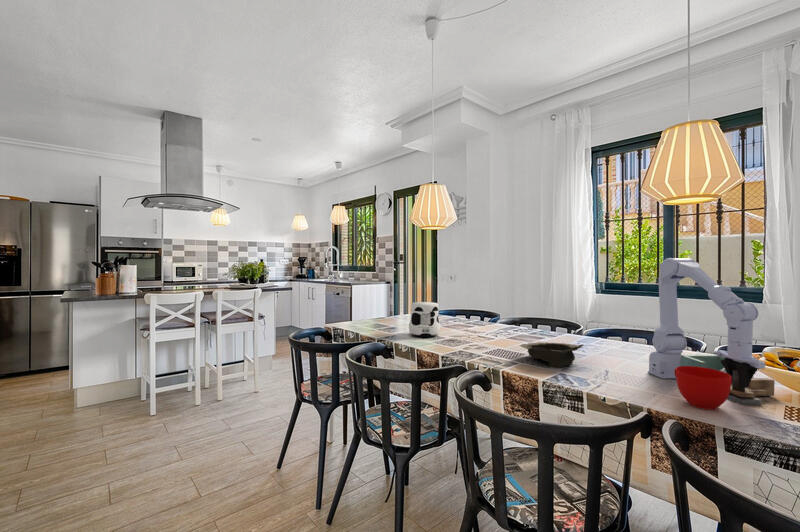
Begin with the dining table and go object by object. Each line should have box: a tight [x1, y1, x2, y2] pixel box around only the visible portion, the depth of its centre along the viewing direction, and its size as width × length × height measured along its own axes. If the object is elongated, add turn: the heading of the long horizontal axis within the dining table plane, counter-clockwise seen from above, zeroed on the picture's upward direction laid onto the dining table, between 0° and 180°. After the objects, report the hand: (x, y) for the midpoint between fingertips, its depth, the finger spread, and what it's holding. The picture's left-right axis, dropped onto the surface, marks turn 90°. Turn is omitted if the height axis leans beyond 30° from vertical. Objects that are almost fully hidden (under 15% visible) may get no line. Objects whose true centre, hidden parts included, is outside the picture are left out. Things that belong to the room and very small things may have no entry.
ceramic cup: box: [675, 366, 732, 411], centre depth 115 cm, size 13×17×10 cm
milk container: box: [408, 301, 441, 338], centre depth 213 cm, size 17×17×18 cm
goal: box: [681, 354, 725, 371], centre depth 140 cm, size 15×10×7 cm, turn 91°
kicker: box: [730, 369, 776, 398], centre depth 119 cm, size 16×7×9 cm, turn 91°
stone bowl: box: [519, 342, 584, 368], centre depth 161 cm, size 25×25×9 cm
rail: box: [726, 393, 763, 406], centre depth 123 cm, size 6×18×2 cm, turn 1°
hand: (738, 385), depth 118 cm, fingers closed on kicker, 3 cm apart
